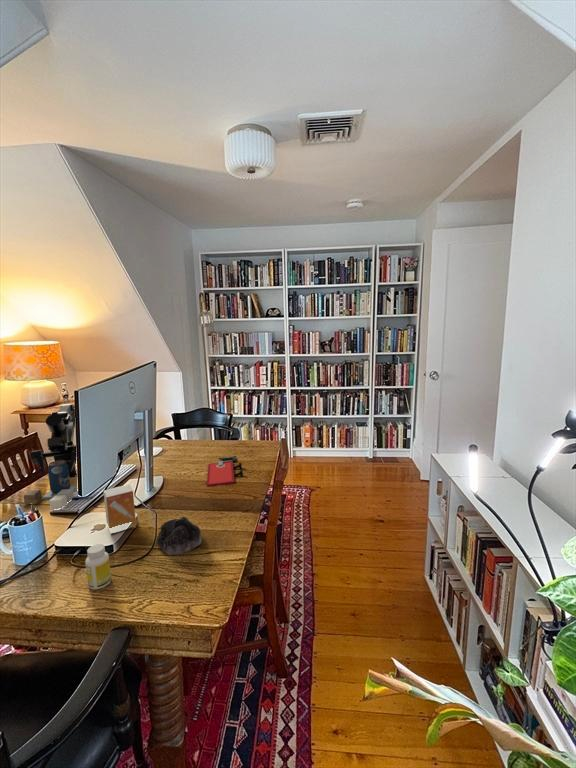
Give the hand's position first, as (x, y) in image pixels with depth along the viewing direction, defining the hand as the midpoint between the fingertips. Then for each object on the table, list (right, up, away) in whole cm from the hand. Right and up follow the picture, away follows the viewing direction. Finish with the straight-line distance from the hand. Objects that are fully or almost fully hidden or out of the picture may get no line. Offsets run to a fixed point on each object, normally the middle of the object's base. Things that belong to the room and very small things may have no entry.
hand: (57, 473), depth 146 cm
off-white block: (+6, -11, -9) cm, 15 cm away
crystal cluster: (+58, -14, -34) cm, 69 cm away
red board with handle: (+62, -5, +21) cm, 66 cm away
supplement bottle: (+42, -17, -50) cm, 67 cm away
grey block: (+6, -10, -4) cm, 12 cm away
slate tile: (0, -9, +2) cm, 9 cm away
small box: (+36, -12, -24) cm, 45 cm away
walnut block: (-7, -10, -4) cm, 13 cm away
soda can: (0, -8, +2) cm, 8 cm away
